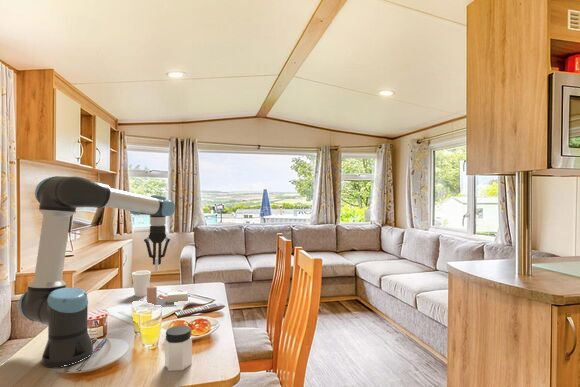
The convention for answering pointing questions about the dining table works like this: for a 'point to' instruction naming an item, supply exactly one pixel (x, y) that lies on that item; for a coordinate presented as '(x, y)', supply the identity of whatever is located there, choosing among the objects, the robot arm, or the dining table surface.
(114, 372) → the dining table surface
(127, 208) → the robot arm
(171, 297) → the cream pillar
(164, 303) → the mat
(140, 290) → the foam cup
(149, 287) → the brick pillar
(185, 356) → the jar
